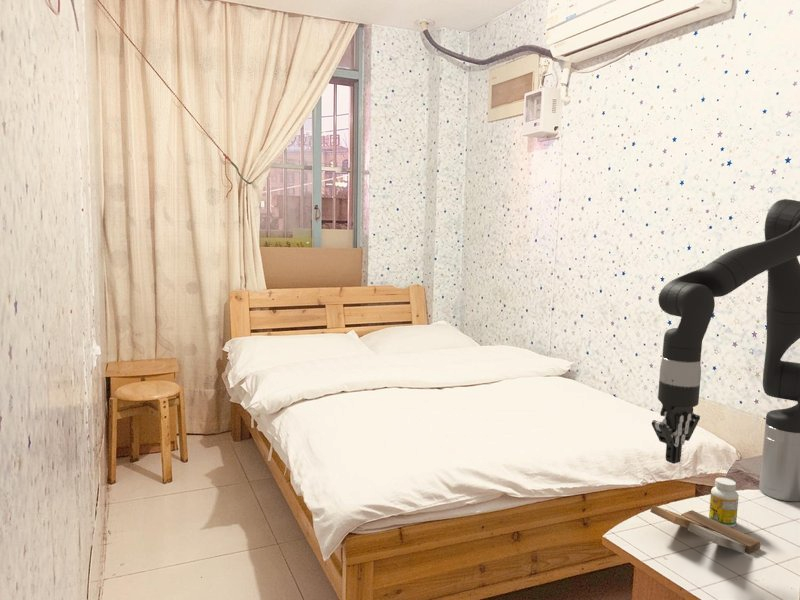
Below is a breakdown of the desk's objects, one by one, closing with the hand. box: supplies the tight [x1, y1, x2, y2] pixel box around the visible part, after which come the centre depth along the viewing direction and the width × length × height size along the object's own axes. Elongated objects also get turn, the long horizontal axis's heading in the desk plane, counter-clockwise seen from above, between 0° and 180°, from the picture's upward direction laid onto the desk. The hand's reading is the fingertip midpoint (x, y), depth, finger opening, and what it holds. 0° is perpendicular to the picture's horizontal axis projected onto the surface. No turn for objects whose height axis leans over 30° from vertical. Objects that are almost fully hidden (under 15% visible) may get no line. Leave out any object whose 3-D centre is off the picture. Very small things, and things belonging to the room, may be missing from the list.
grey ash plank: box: [687, 523, 746, 554], centre depth 116 cm, size 12×6×2 cm, turn 120°
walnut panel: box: [680, 509, 761, 555], centre depth 124 cm, size 4×15×2 cm, turn 30°
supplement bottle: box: [708, 477, 739, 528], centre depth 129 cm, size 5×5×10 cm
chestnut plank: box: [650, 504, 706, 529], centre depth 123 cm, size 12×6×2 cm, turn 120°
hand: (672, 461), depth 120 cm, fingers closed
